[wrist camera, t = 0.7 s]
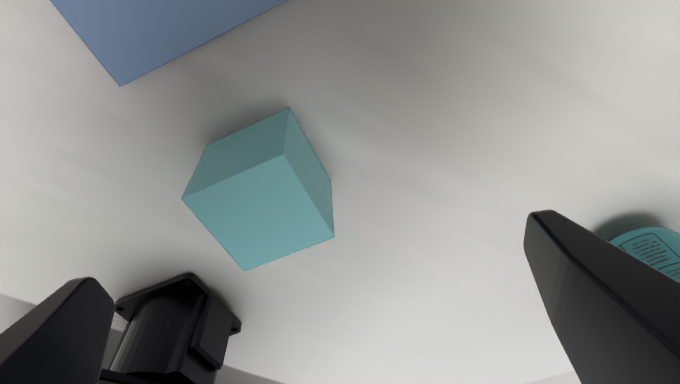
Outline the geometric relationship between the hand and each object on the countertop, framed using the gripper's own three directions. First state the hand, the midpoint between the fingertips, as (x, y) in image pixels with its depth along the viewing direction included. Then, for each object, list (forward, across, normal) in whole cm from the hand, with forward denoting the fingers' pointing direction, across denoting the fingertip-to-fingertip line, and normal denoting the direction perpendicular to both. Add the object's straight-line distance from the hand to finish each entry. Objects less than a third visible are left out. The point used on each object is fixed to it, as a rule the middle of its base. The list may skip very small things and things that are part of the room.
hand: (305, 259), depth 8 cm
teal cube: (+13, +4, +5) cm, 15 cm away
